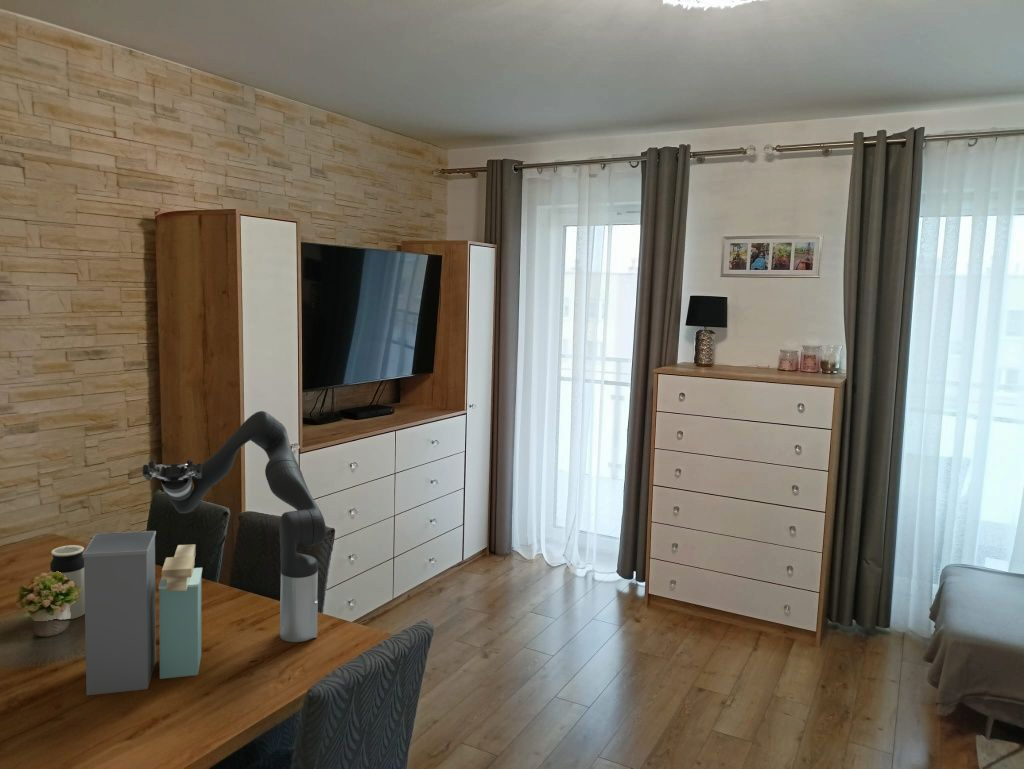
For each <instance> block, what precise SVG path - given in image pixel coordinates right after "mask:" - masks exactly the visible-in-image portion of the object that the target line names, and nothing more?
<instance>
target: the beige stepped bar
mask: <svg viewBox="0 0 1024 769" xmlns="http://www.w3.org/2000/svg"><path fill="white" fill-rule="evenodd" d="M195 558H196V544H194V543H193V544H178V545H177V547H176V550H175V552H174V556H170V557H165V559H164V563H163V566H162V569H161V578H162V579H167V592H171V591H186V590H187V586H188V583H189V579H190V577H192V573H193V569H194V568H195V565H196V564H195V561H196V560H195Z"/></svg>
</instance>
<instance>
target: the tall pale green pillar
mask: <svg viewBox="0 0 1024 769" xmlns="http://www.w3.org/2000/svg"><path fill="white" fill-rule="evenodd" d="M202 573H203V567H194V569H193V573H192V577H190V579H189V583H188V586H187V590H186V591H171V592H167V579H162V577H161V578H160V581H159V583H158V586H157V590H158V591H159V592H158V594H159V597H158V598H159V608H158V609H159V614H158V616H159V618H158V619H159V680H160V679H161V680H162V679H172V678H181V677H183V678H184V677H191V676H198V675H199V669H200V663H201V658H202Z"/></svg>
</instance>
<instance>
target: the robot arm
mask: <svg viewBox="0 0 1024 769" xmlns="http://www.w3.org/2000/svg"><path fill="white" fill-rule="evenodd" d="M249 441H251V442H252V443H253V444H255V445H256V446H258V447H260V448H261V449H262V450H264V452H265V453H266V456H267V458H268V461H267V463H266V465H265V469H264V472H265V473H264V474H265V475H264V476H265V479H266V481H267V484H268V486H269V490H270V491H271V493H273V495H274V496H275V497H277V498H278V499H279V500H281V501H282V502H284V503H285V504H287V505H289V506H290V507H292V508H294V509H295V510H289V511H285V512H283V513H282V515H281V517H280V519H279V547H280V556H279V557H280V592H279V593H280V595H279V596H280V601H279V603H280V604H279V606H280V608H279V611H280V612H279V638H281V639H282V640H283V641H286V642H291V643H300V642H306V641H309V640H312V639H315V638H318V617H319V616H318V615H319V614H318V612H319V611H318V608H319V607H318V606H319V603H318V584H319V583H318V579H319V576H318V575H319V574H318V573H319V561H318V560H317V558H315V557H314V556H312V555H309V554H305V553H304V554H303V553H300V552H298V551H297V548H301V547H309V546H315V545H318V544H321V543H322V542H324V540H325V538H326V535H327V528H326V527H327V525H326V523H325V518H324V515H323V513H322V512H321V509H320V508H319V506H318V505H317V503H316V501H315V499H314V498H313V496H312V494H311V493H310V490H309V488H308V486H307V483H306V480H305V478H304V476H303V472H302V471H301V468H300V466H299V463H298V461H297V459H296V457H295V454H294V453H293V450H292V448H291V445H290V440H289V435H288V432H287V429H286V427H285V425H284V424H283V423H282V422H280V421H279V420H278V419H276V418H275V417H274V416H273V415H271V414H270V413H268V412H267V411H264V410H260V411H256V412H254V413H252V414H251V415H250V416H249V417H248V418H247V419H246V420H245V421H244V422H243V423H242V424H241V426H239V427H238V428H237V429H236V430H235V431H234V433H233V434H232V435H231V436H230V437H229V438H228V439H227V440H226V441H225V443H223V445H222V446H221V447H220V448H219V449H218V450H217V451H216V452H215V453H214V454H213V455H212V456H211V457H209V458H208V459H207V460H206V461H204V462H203V463H197V464H196V465H195V463H194V461H191V459H186V463H183V464H182V463H179V462H178V463H175V462H174V463H170V464H168V465H165V464H161V463H160V464H156V462H155V460H150V461H149V462H148V463H147V464H143V465H142V476H143V478H144V479H145V480H147V481H150V480H152V479H153V478H155V477H156V478H157V479H158V480H160V483H161V486H162V488H163V492H164V494H165V495H166V497H167V498H168V500H169V501H170V503H171V504H172V506H173V508H175V510H176V511H177V512H178V513H179V514H188V513H190V512H193V510H195V509H196V508H197V507H198V505H199V504H200V503H201V501H202V500H203V498H205V496H206V495H207V493H208V492H209V491H210V490H211V488H213V487H214V486H215V485H216V484H217V483H218V482H220V481H222V479H224V478H225V477H226V476H227V475H228V474H229V473H230V471H231V470H232V467H233V465H234V462H235V461H236V460H235V459H236V457H237V454H238V453H239V451H240V449H241V448H242V447H243V446H244V445H245V444H246V443H248V442H249Z"/></svg>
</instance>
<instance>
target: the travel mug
mask: <svg viewBox="0 0 1024 769" xmlns="http://www.w3.org/2000/svg"><path fill="white" fill-rule="evenodd" d="M84 551H85V547H84V546H82V545H78V544H77V545H76V544H69V545H63V546H58V547H56V548H54V549H52V550H51V551H50V554H51V555H52V560H51V561H50V571H49V572H50V575H51V573H53V572H56V571H59V572H61V573H62V574H64V575H65V577H66V578H67V579H69V580H71V581H74V582H75V584H76V585H77V587H81V592H80V594H79V598H78V600H77V601H76V602H75V603H74V604H72V605H71V607H70V612H71V620H74V619H77V618H81V617H82V616H84V615H85V585H84V558H83V553H84Z"/></svg>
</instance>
